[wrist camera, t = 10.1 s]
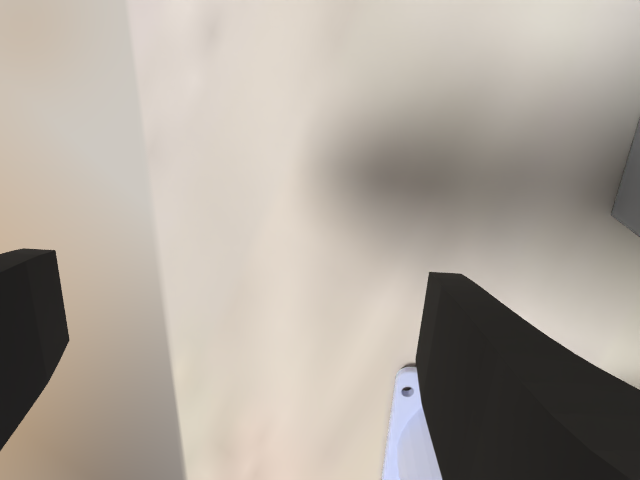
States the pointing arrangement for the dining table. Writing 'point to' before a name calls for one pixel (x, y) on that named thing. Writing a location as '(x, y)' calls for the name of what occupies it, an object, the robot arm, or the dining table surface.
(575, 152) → the dining table surface
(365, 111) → the dining table surface
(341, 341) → the dining table surface
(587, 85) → the dining table surface
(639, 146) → the chassis
